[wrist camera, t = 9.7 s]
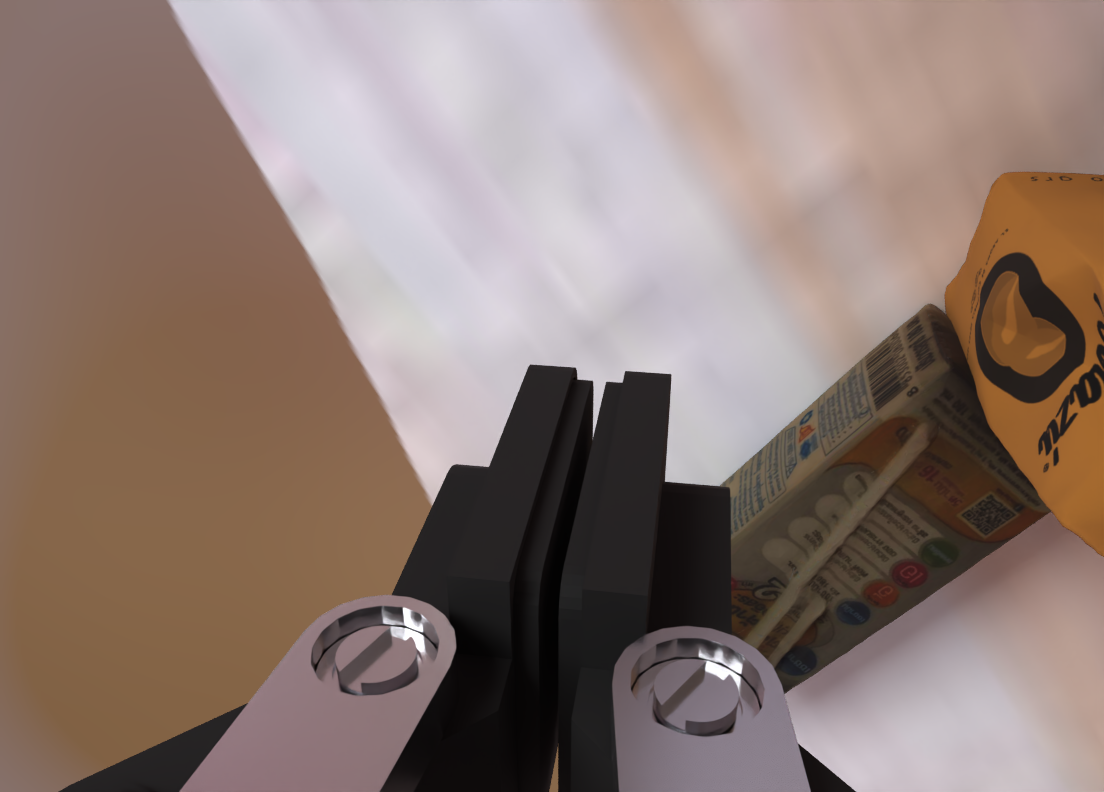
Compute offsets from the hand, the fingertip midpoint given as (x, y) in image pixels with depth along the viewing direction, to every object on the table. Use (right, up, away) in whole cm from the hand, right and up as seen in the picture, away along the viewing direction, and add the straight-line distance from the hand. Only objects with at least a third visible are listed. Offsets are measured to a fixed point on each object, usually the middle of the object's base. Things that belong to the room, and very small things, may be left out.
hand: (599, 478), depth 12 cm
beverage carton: (+12, -3, +33) cm, 36 cm away
